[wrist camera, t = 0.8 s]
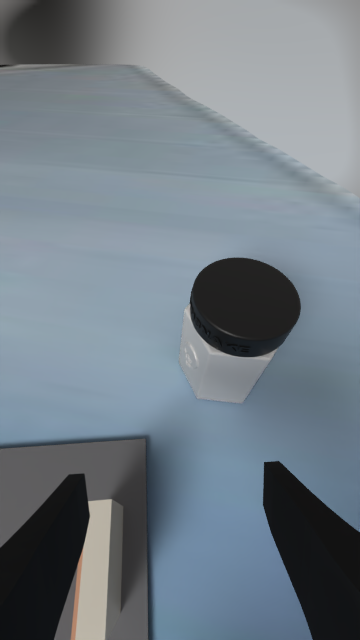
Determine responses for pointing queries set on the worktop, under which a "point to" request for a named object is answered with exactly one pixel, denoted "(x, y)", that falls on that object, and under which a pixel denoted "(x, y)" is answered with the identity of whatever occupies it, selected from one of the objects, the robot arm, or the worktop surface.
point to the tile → (99, 573)
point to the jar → (235, 326)
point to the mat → (102, 484)
